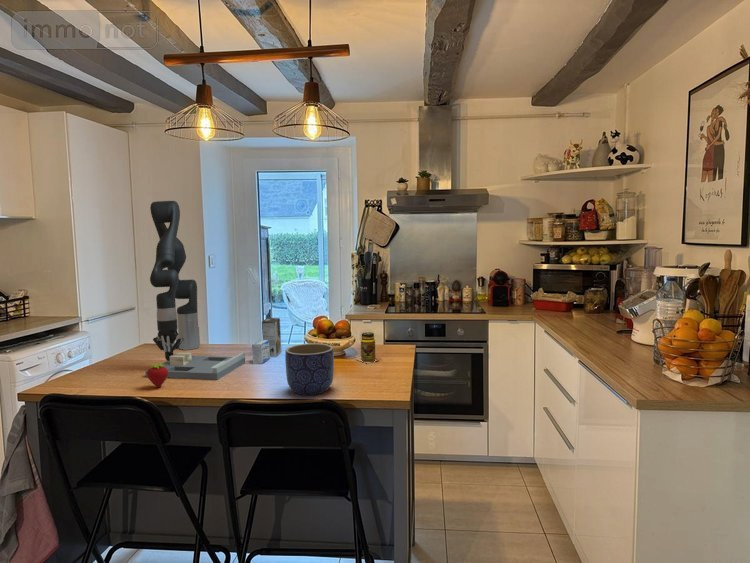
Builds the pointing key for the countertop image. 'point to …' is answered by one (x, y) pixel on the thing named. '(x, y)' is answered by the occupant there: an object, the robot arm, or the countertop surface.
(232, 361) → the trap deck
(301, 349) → the planter
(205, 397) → the countertop surface
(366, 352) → the condiment
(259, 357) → the medicine box
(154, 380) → the strawberry
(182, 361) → the birch block
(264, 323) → the coffee box
